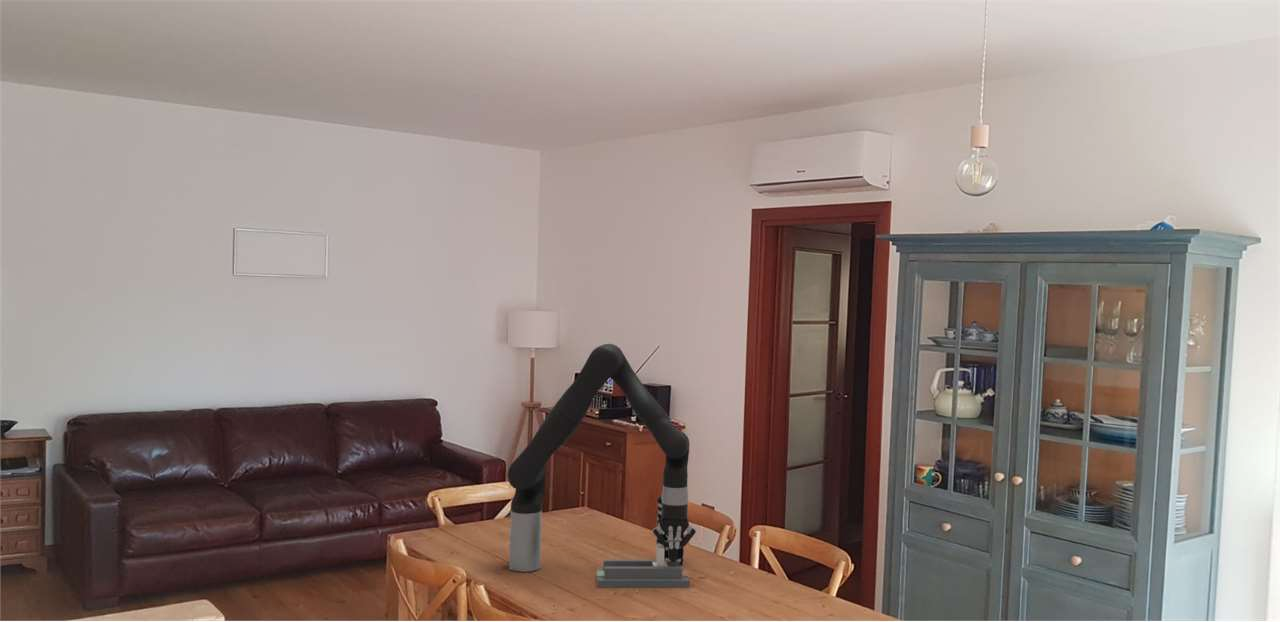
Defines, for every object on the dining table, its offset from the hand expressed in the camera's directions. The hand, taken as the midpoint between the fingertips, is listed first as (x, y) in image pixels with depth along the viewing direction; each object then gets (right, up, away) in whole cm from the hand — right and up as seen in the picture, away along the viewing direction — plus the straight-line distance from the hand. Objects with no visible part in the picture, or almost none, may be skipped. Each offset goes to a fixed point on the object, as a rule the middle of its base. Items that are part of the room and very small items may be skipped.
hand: (673, 560), depth 273 cm
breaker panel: (-9, -6, -1) cm, 11 cm away
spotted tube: (0, -6, +18) cm, 19 cm away
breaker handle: (-4, -4, 0) cm, 5 cm away
